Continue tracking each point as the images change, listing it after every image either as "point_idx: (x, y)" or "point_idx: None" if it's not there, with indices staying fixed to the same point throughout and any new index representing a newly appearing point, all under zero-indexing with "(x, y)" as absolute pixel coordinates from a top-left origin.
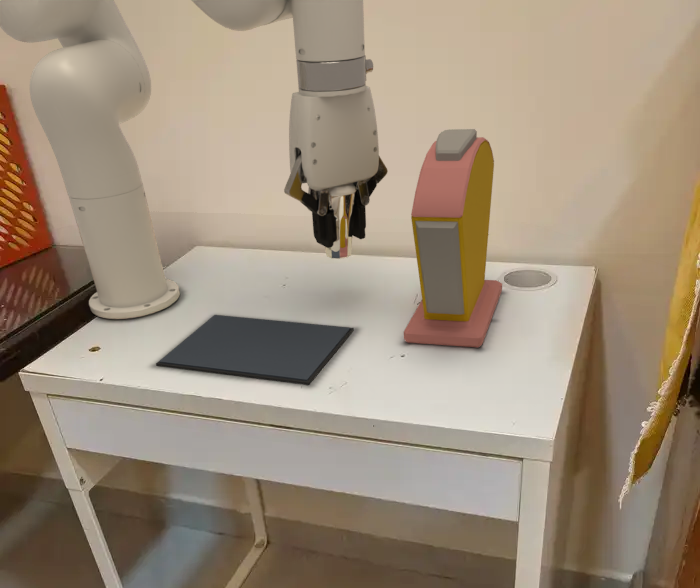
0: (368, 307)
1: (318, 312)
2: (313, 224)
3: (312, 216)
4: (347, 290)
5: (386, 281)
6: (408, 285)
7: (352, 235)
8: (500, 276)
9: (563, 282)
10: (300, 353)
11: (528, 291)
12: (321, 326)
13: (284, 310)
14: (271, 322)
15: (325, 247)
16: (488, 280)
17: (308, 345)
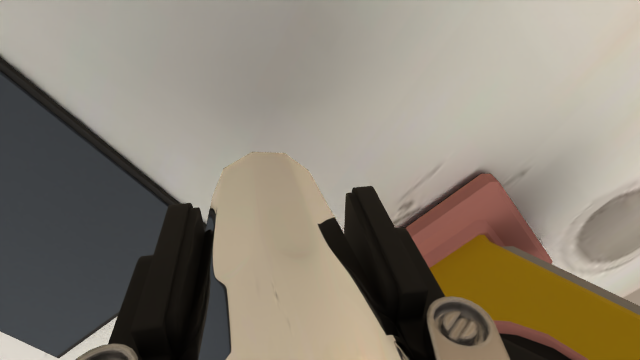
0: (311, 159)
1: (188, 106)
2: (125, 305)
3: (109, 342)
4: (333, 19)
5: (453, 42)
6: (467, 108)
7: (345, 222)
8: (611, 193)
9: (627, 270)
10: (67, 284)
11: (566, 268)
12: (153, 207)
13: (93, 21)
14: (22, 109)
15: (217, 190)
16: (541, 259)
17: (94, 265)
